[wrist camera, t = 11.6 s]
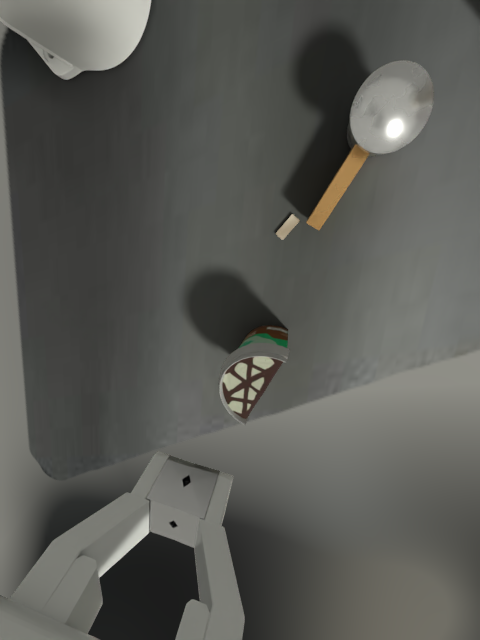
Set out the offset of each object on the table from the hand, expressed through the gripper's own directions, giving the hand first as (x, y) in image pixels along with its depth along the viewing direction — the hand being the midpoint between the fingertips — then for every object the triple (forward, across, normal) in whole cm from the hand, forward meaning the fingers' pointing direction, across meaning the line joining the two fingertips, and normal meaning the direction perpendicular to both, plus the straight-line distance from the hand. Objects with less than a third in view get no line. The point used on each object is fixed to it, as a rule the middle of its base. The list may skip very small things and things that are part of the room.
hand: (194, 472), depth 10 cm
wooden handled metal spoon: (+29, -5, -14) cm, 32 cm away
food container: (+29, +1, +11) cm, 31 cm away
